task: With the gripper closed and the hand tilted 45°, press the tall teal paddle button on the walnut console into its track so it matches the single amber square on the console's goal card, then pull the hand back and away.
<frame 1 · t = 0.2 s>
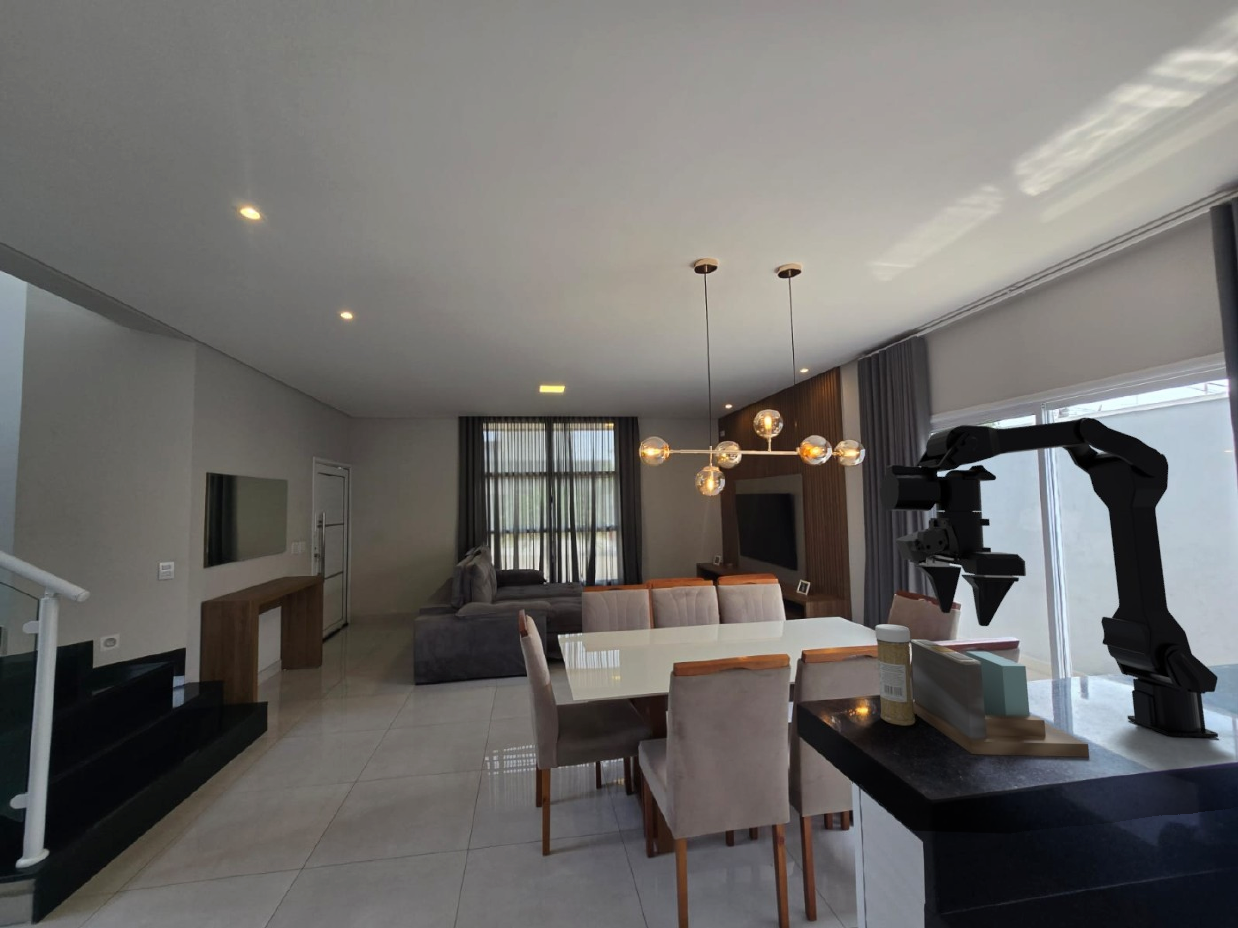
hand: (963, 618, 76), 15 cm above the countertop, tool pointing down, fingers open, 9 cm apart
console: (988, 730, 73), on the countertop
paddle button: (996, 687, 73), point 6 cm above the countertop, slide at 0.0 cm
sprinkles bottle: (897, 722, 76), on the countertop
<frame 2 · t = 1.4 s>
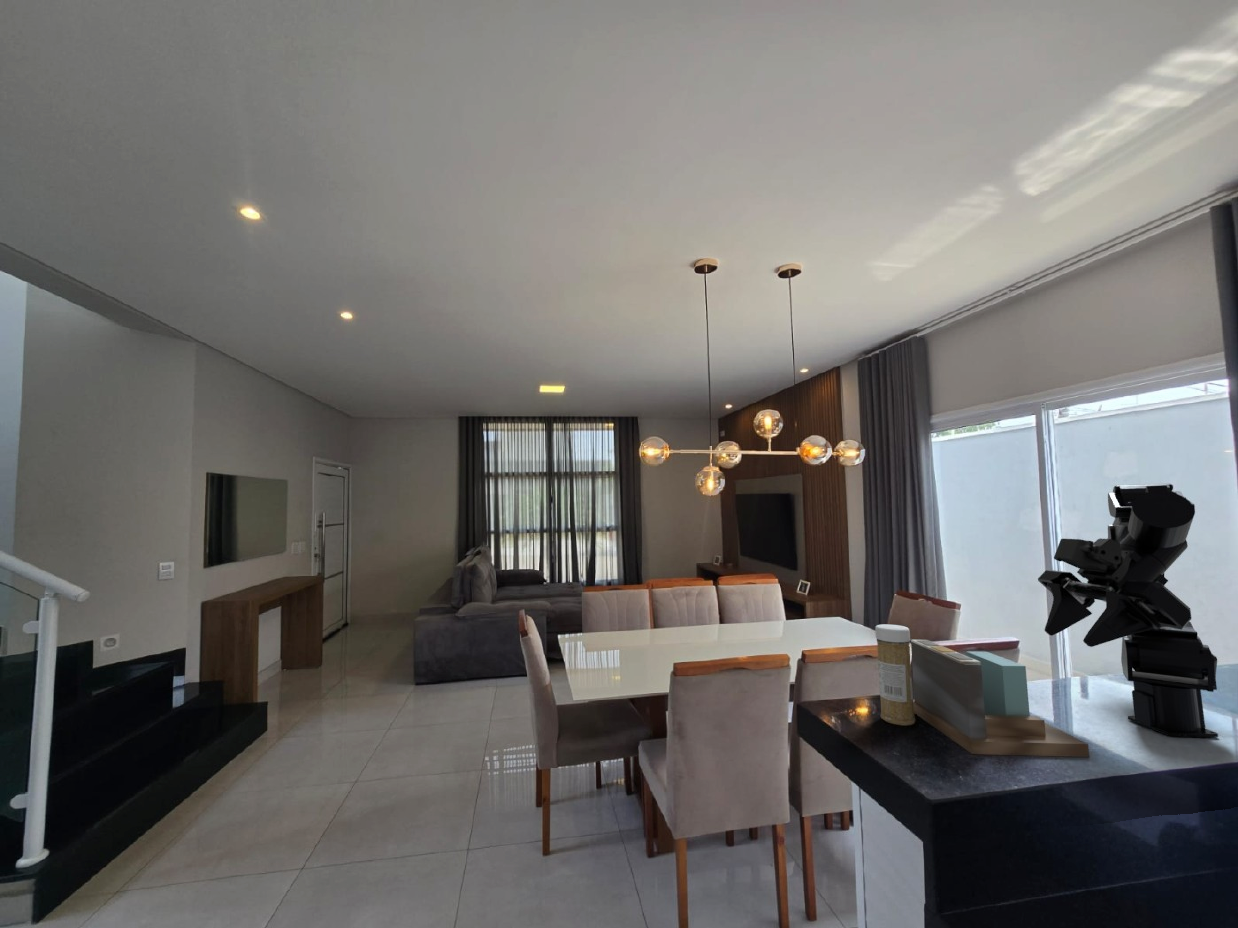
hand: (1066, 638, 74), 13 cm above the countertop, tool tilted 45°, fingers open, 7 cm apart
nothing on the countertop moved.
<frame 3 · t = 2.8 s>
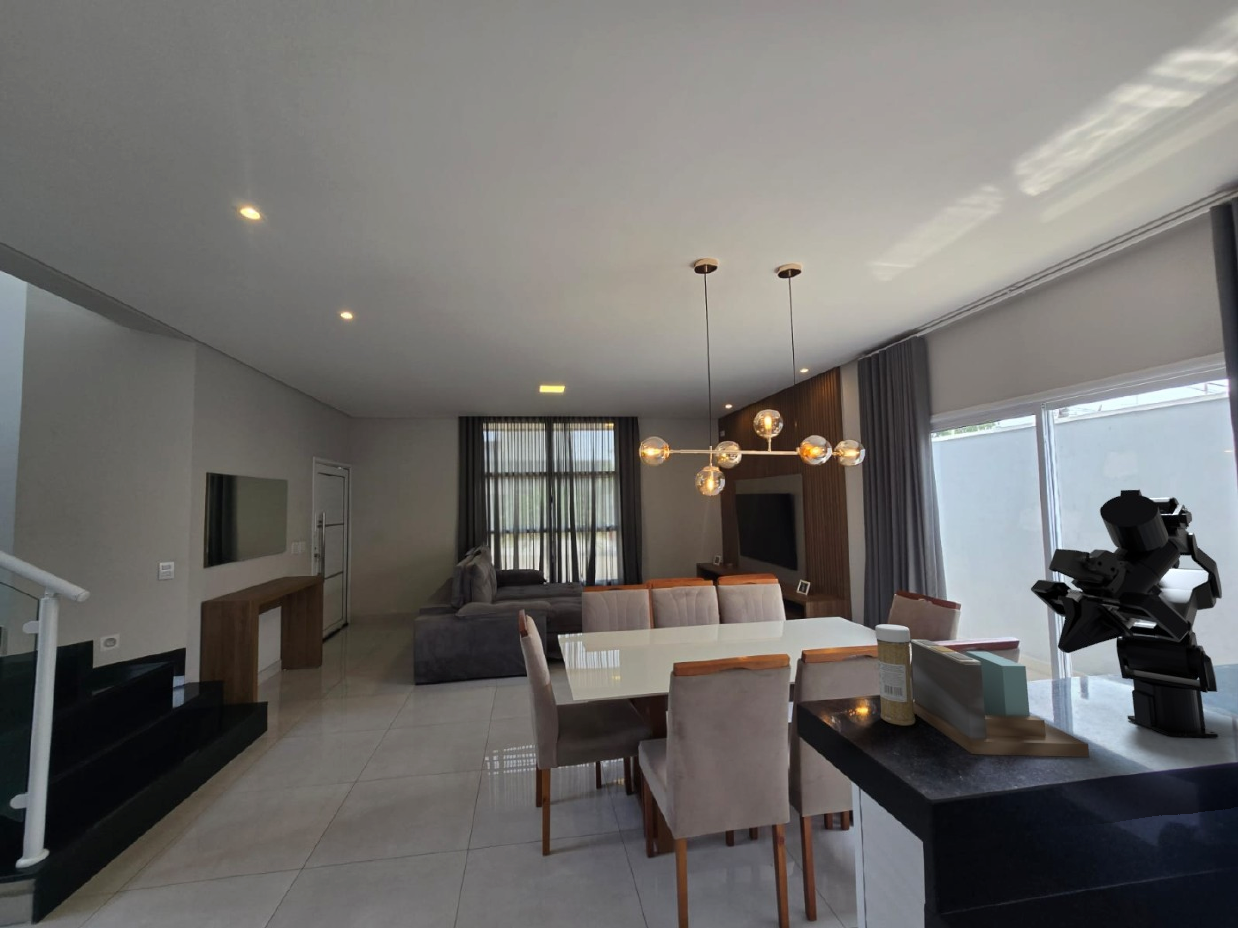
hand: (1062, 650, 73), 11 cm above the countertop, tool tilted 45°, fingers closed
nothing on the countertop moved.
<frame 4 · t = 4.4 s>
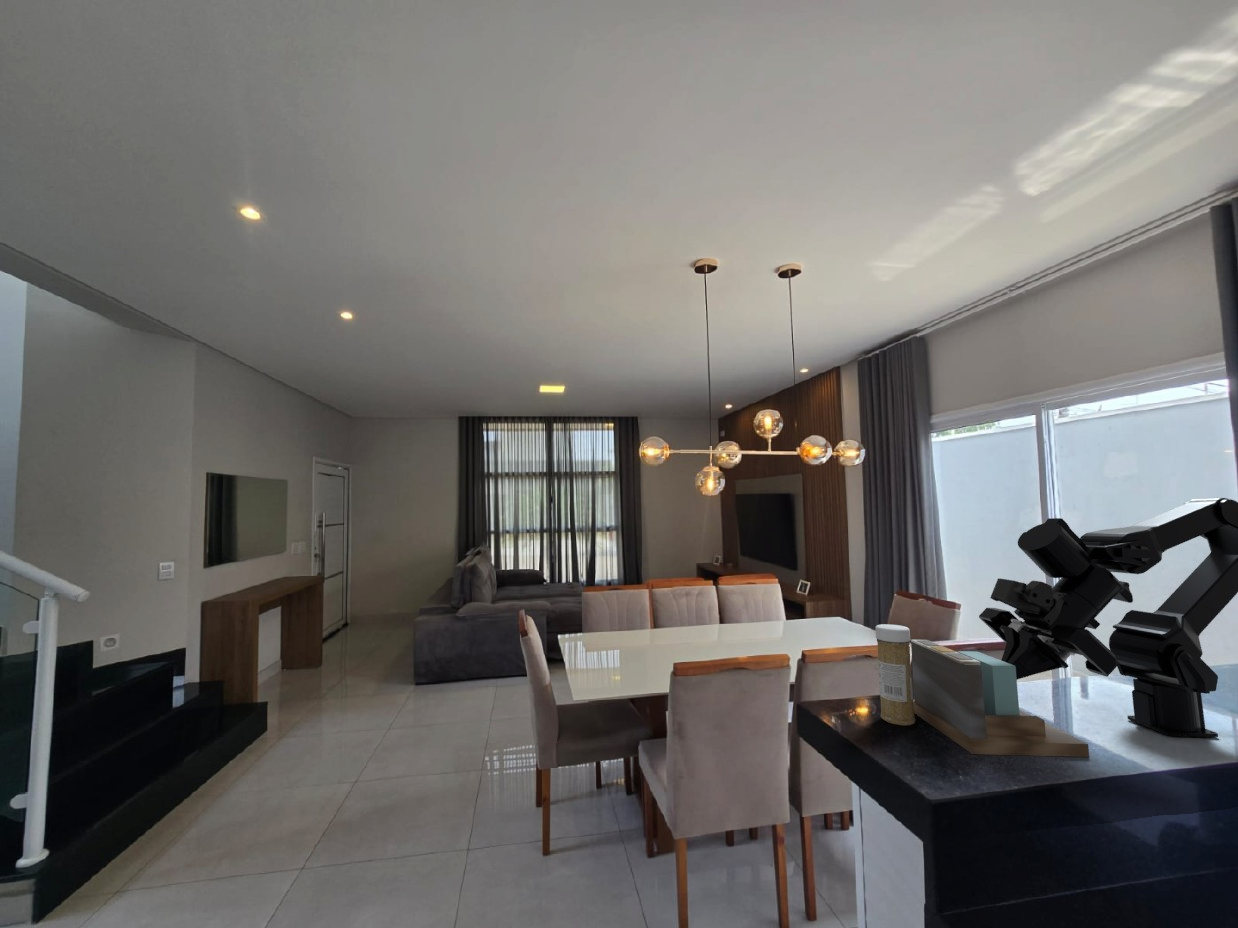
hand: (999, 679, 73), 7 cm above the countertop, tool tilted 45°, fingers closed, pressing on paddle button
paddle button: (986, 687, 74), point 6 cm above the countertop, slide at 1.3 cm, touching gripper
everything else where it was.
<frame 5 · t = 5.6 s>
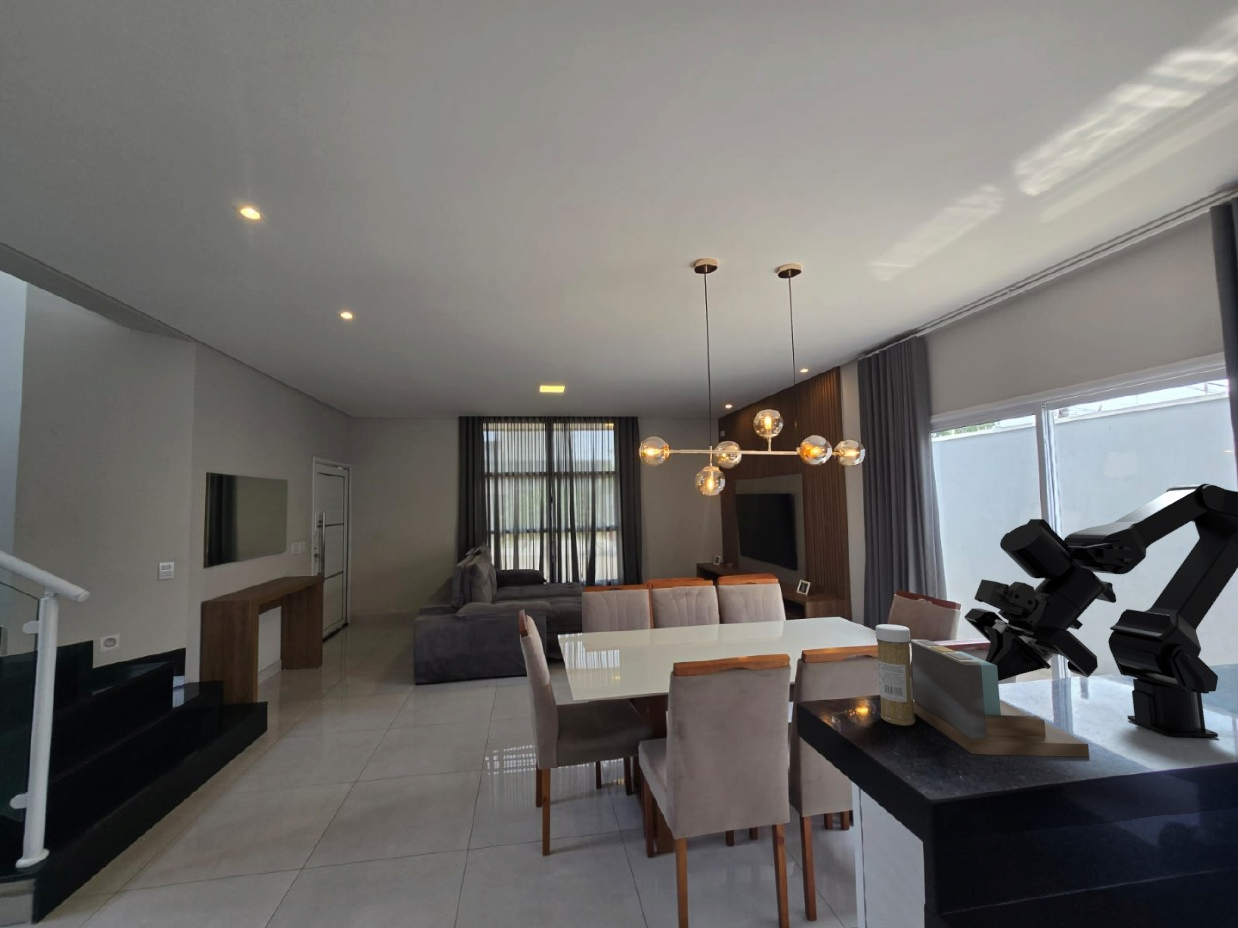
hand: (983, 680, 74), 7 cm above the countertop, tool tilted 45°, fingers closed
paddle button: (969, 687, 74), point 6 cm above the countertop, slide at 3.7 cm
everything else where it was.
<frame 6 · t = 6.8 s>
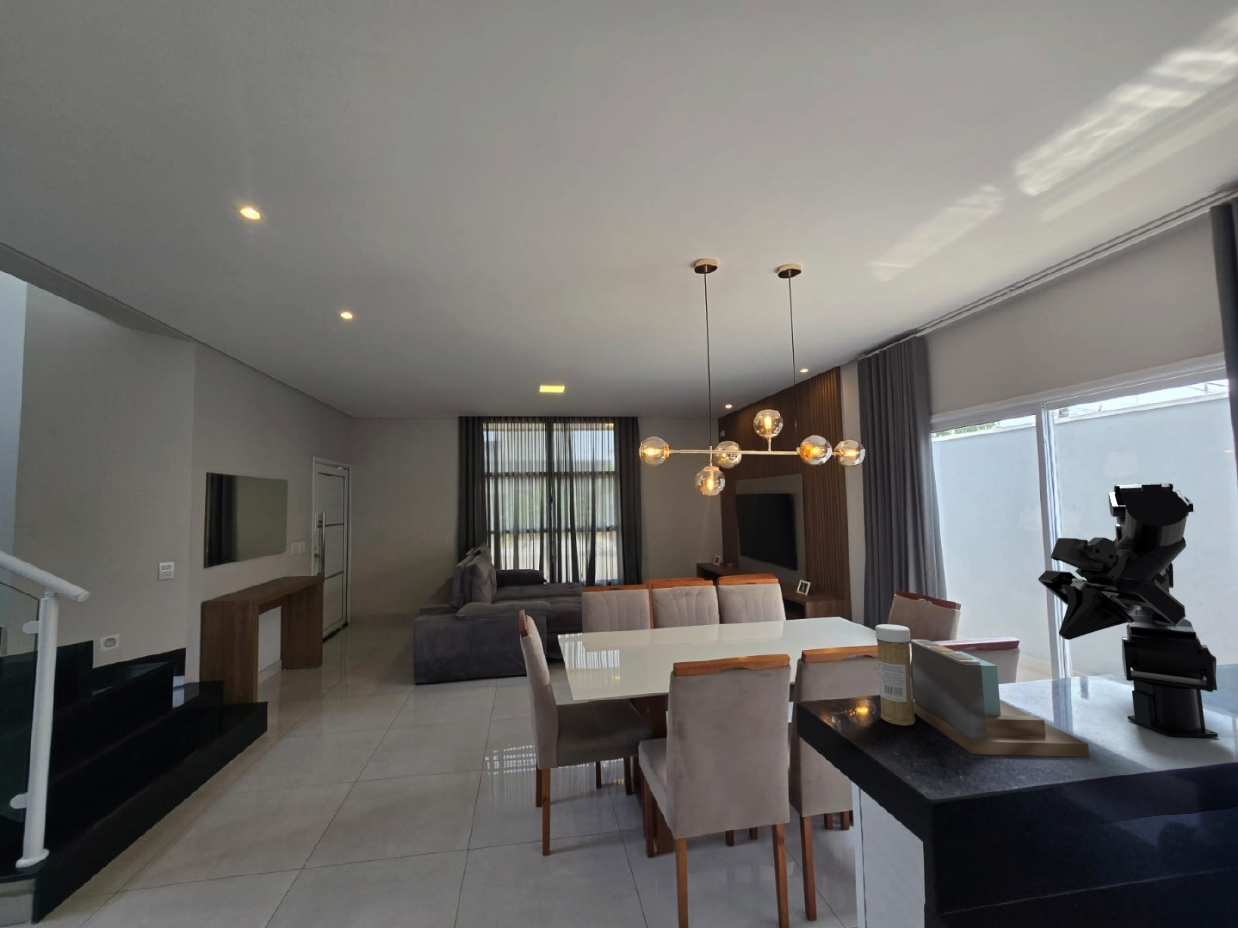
hand: (1063, 637, 74), 13 cm above the countertop, tool tilted 45°, fingers closed
nothing on the countertop moved.
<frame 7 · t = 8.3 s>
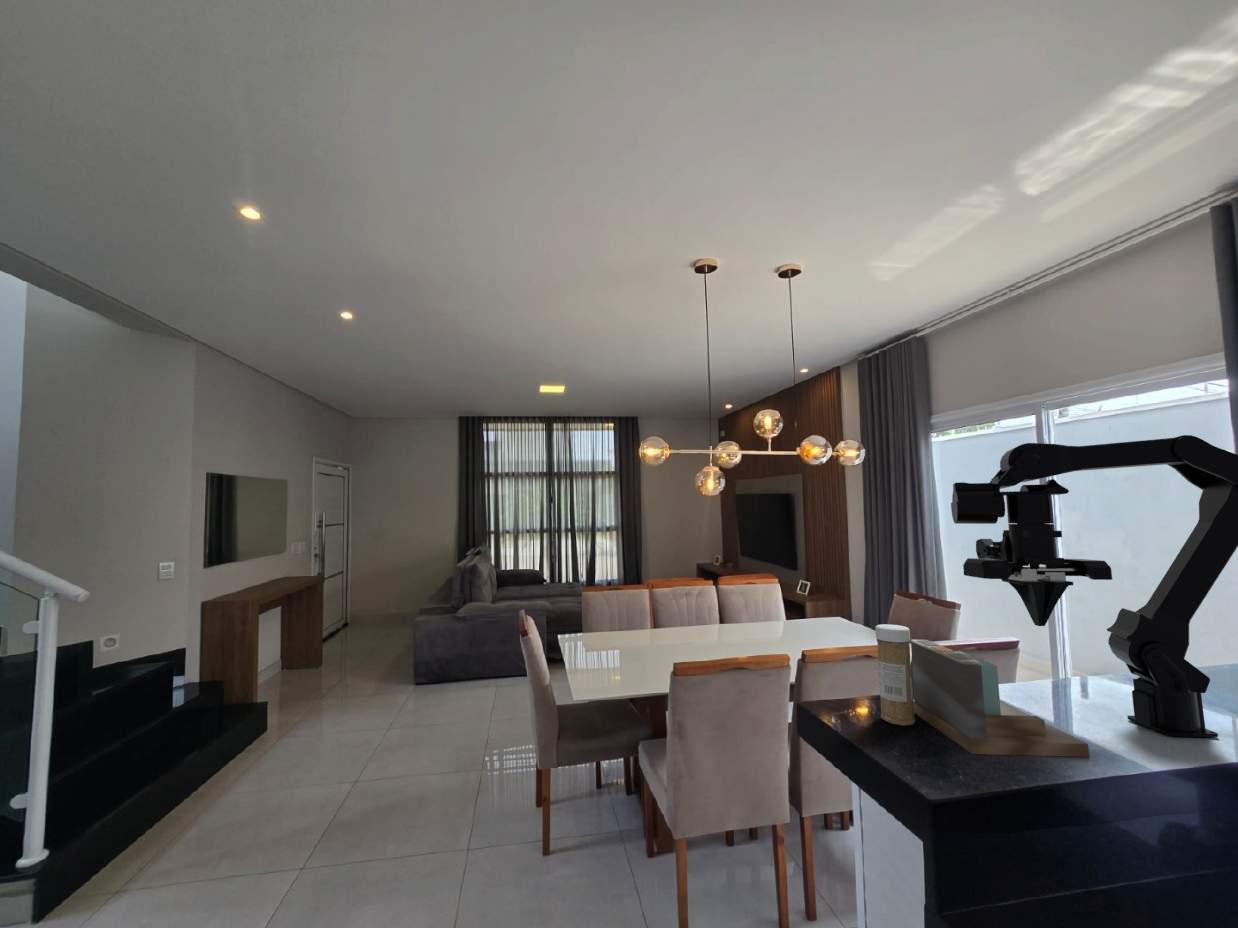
hand: (1039, 625, 81), 13 cm above the countertop, tool pointing down, fingers closed
nothing on the countertop moved.
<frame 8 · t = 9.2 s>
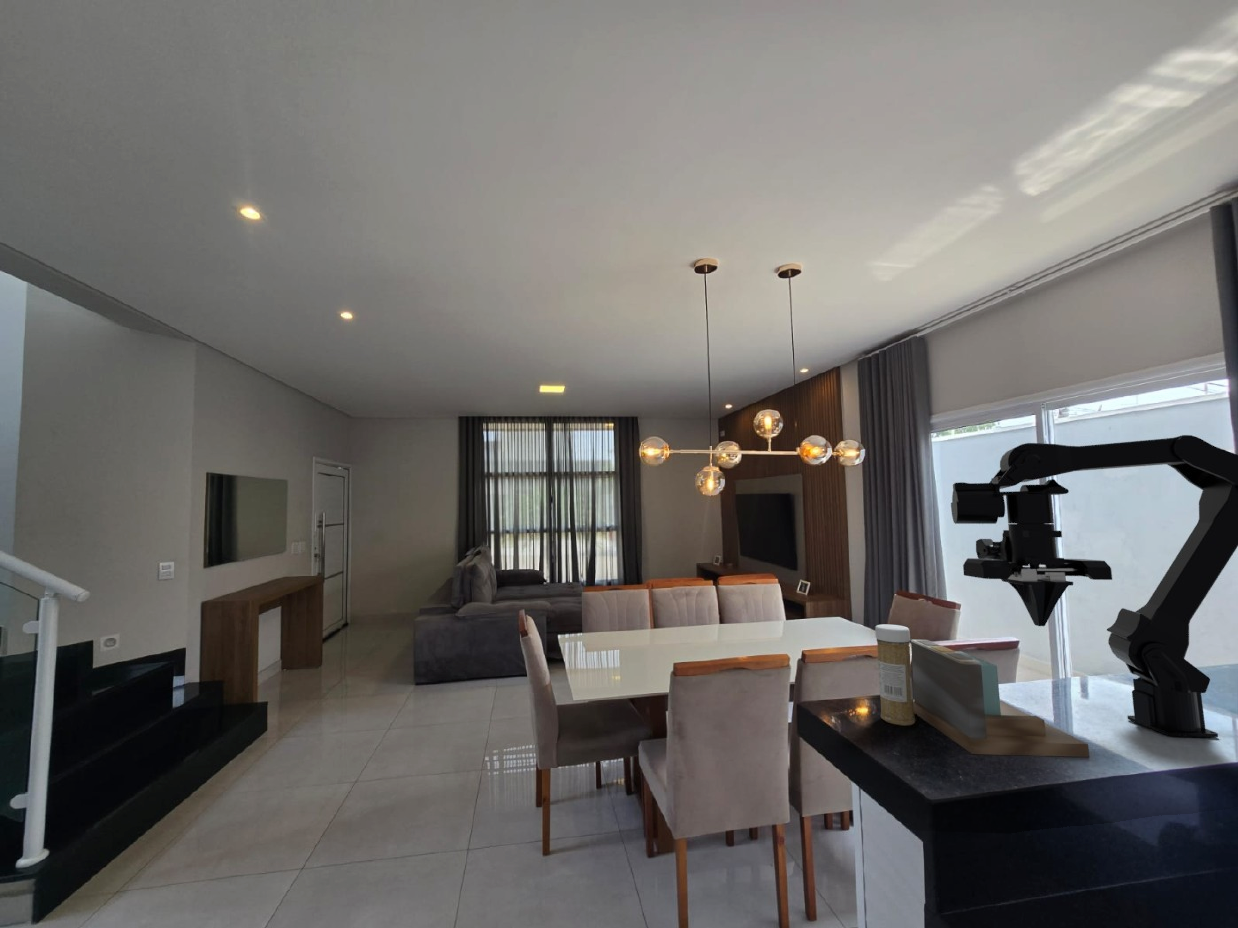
hand: (1039, 625, 81), 13 cm above the countertop, tool pointing down, fingers closed
nothing on the countertop moved.
at the end: paddle button slide at 3.7 cm; sprinkles bottle moved 0.2 cm from its start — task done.
